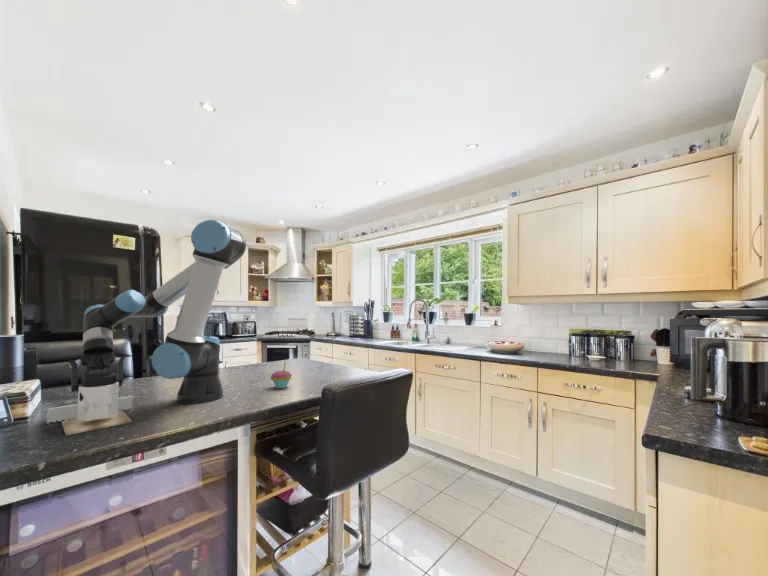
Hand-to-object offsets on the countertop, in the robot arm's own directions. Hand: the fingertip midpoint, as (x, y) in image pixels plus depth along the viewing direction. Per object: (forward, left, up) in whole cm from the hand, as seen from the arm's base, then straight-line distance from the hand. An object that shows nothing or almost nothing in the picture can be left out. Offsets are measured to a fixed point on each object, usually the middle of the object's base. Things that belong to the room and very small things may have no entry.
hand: (98, 407), depth 94 cm
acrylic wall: (+9, -11, -5) cm, 15 cm away
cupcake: (-44, -42, -5) cm, 61 cm away
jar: (+2, -3, -4) cm, 5 cm away
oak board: (+2, -3, -5) cm, 6 cm away
